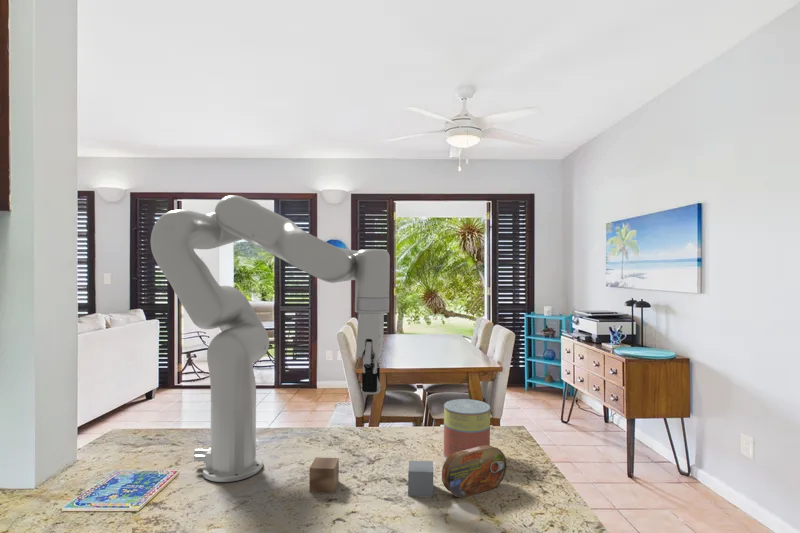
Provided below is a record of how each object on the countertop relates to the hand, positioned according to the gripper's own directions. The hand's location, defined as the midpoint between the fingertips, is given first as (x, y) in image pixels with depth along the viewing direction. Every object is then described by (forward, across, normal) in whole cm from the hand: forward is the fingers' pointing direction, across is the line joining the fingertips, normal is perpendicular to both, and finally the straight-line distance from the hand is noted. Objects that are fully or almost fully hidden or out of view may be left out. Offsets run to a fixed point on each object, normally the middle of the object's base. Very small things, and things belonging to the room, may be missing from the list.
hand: (370, 387), depth 98 cm
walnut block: (+19, +6, -9) cm, 22 cm away
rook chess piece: (+1, 0, 0) cm, 1 cm away
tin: (+19, +5, +22) cm, 30 cm away
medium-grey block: (+19, +6, +11) cm, 23 cm away
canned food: (+19, -12, +22) cm, 32 cm away
